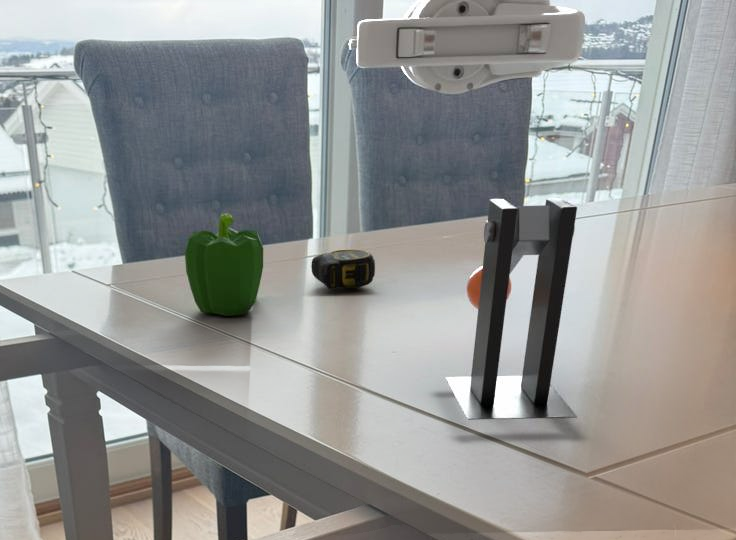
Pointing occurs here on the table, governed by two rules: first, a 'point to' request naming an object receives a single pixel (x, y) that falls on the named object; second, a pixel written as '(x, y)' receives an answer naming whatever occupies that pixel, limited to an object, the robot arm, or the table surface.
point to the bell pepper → (224, 269)
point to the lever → (519, 243)
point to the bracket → (532, 389)
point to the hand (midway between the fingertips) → (482, 40)
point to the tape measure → (344, 268)
